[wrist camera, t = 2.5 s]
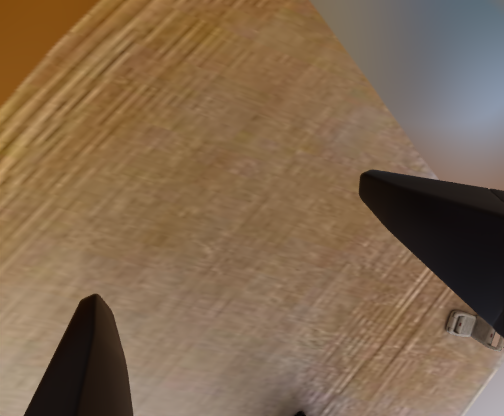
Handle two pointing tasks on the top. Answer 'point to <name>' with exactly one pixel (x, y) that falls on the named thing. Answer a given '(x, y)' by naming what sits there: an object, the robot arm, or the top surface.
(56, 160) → the top surface
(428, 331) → the top surface
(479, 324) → the strap clip
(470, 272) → the robot arm
